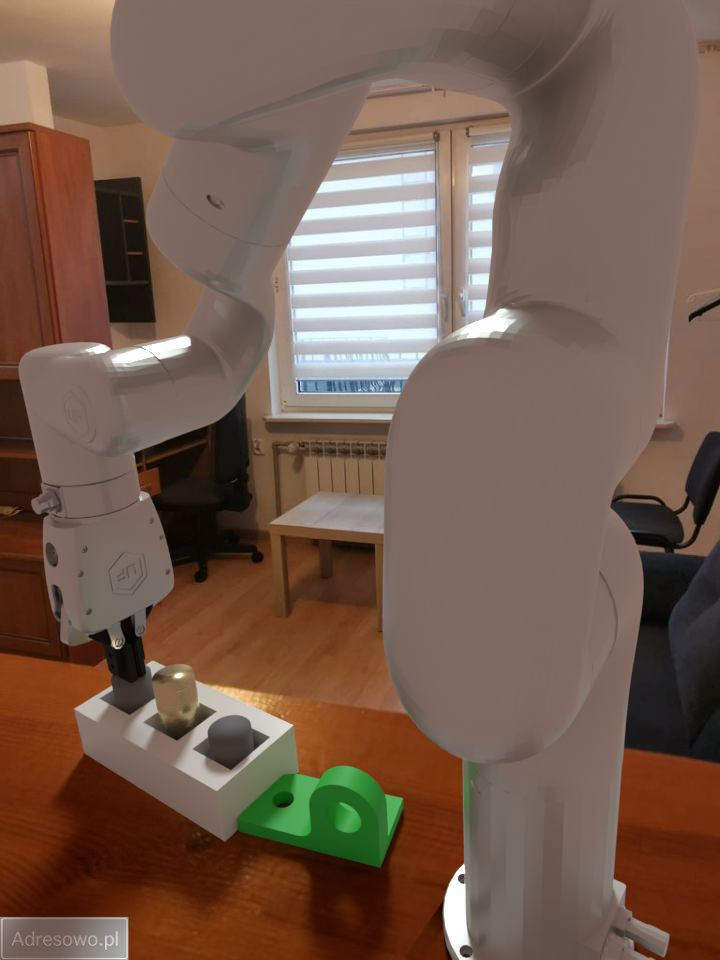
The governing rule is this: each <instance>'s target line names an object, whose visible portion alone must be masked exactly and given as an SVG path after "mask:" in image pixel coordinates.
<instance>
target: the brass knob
mask: <svg viewBox="0 0 720 960" xmlns="http://www.w3.org/2000/svg"><path fill="white" fill-rule="evenodd" d="M165 666H166V665H165ZM195 680H196V676H195V670H194V668H193V667H192V666H191V665H188V664H184V663H175V664H170V665H167V666H166V667H164V668H162V669H160V670H159V671H157V672H156V673H155V674H154V675H153V677H152V684H153V690H154V695H155V700H156V706H157V711H158V716H159V721H160V727H161V732H162V733H163V734H165V735H167V736H169V737H171V738H173V739H174V740H176V741H178V740H179V739H181V738H182V737H183V736H185V735H186V734H187V733H189V732H190V731H191V730H193V729H194V728H195V727H197V726H198V725H199V724H201V723H202V717H201V711H200V705H199V699H198V693H197V687H196V681H197V680H196V681H195Z"/></svg>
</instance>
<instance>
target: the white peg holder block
mask: <svg viewBox="0 0 720 960" xmlns="http://www.w3.org/2000/svg"><path fill="white" fill-rule="evenodd" d="M145 665H147V666H148V667H149V668H150V669H151V675H152V677H153V675H154V674H155V673H156V672H157V671H159V670H160V669H162V668H164V667H166V665H163V664H162V663H159V662H157V661H155V660H151V661H149V662H148V663H145ZM195 681H196V687H197V693H198V699H199V705H200V711H201V717H202V723H201V724H199V725H198V726H197V727H195V728H194V729H193V730H191V731H190V732H189V733H187V734H186V735H185V736H183V737H182V738H181V739H179V740H178V741H176V740H174V739H173V738H171V737H169V736H167V735H165V734H163V733H162V732H161V727H160V721H159V716H158V711H157V706H156V700H155V699H153V700H152V701H150V702H149V703H147V704H146V705H144V706H143V707H141V708H140V709H138V710H137V711H135V712H134V713H132V714H131V715H128V714H127V713H125V712H123V711H121V710H119V709H117V707H116V702H115V697H114V693H113V688H112V685H111V686H109V687H107V688H105V689H104V690H102V691H100V693H97V694H96V695H94V696H92V697H91V698H89V699H88V700H86V701H84V702H82V703H81V704H79V705H77V706H76V707H74V708H73V711H74V715H75V718H76V719H75V720H76V723H77V727H78V732H79V736H80V739H81V744H82V749H83V753H84V754H85V755H87V756H88V757H89V758H91V759H93V760H95V761H96V762H97V763H99V764H100V765H102V766H104V767H105V768H107V769H109V770H110V771H111V772H113V773H115V774H117V775H118V776H120V777H121V778H123V779H125V780H126V781H128V782H129V783H131V784H133V785H134V786H135V787H137V788H139V789H140V790H142V791H143V792H145V793H147V794H148V795H150V796H152V797H154V798H155V799H157V800H158V801H160V802H161V803H163V804H164V805H166V806H168V807H169V808H171V809H172V810H174V811H176V812H177V813H179V814H180V815H182V816H184V818H185V817H186V818H187V819H188V820H189V821H192V823H194V824H196V825H197V826H199V827H201V828H203V829H204V830H206V831H207V832H209V833H210V834H212V835H213V836H216V837H217V838H218V839H220V840H222V841H223V842H227V840H228V839H230V837H232V836H233V835H234V834H235V833H236V832H237V831H239V827H238V818H239V817H240V815H241V813H242V812H243V811H244V810H245V809H246V808H247V807H248V806H249V805H250V804H251V803H252V802H254V801H255V800H256V799H257V798H258V797H259V796H260V795H261V794H262V793H263V792H264V791H265V790H267V789H268V788H269V787H270V786H271V785H272V784H273V783H274V782H275V781H276V780H277V779H279V778H280V777H281V776H282V775H284V774H299V772H300V771H299V769H300V767H299V762H298V761H299V760H298V752H297V744H296V736H295V735H296V734H295V726H294V724H291V723H290V722H287V721H285V720H284V719H281V718H279V717H277V716H274V715H272V714H270V713H268V712H266V711H264V710H261V709H259V708H257V707H255V706H252V705H251V704H248V703H246V702H244V701H242V700H239V699H237V698H235V697H233V696H231V695H229V694H226V693H224V692H222V691H220V690H218V689H215V688H213V687H211V686H209V685H207V684H205V683H202V682H200V681H198V680H196V679H195ZM229 715H240V716H243V717H246V718H247V719H248V720H249V721H250V723H251V728H252V735H253V743H254V751H253V752H252V753H251V754H250V755H248V756H247V757H246V758H245V759H244V760H243V761H241V762H240V763H239V764H238V765H237V766H235V767H234V768H233V769H232V770H230V769H228V768H226V767H224V766H222V765H221V764H219V763H217V762H215V761H213V760H212V758H211V752H210V745H209V739H208V729H209V727H210V726H211V724H212V723H213V722H215V721H216V720H218V719H220V718H222V717H225V716H229Z"/></svg>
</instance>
